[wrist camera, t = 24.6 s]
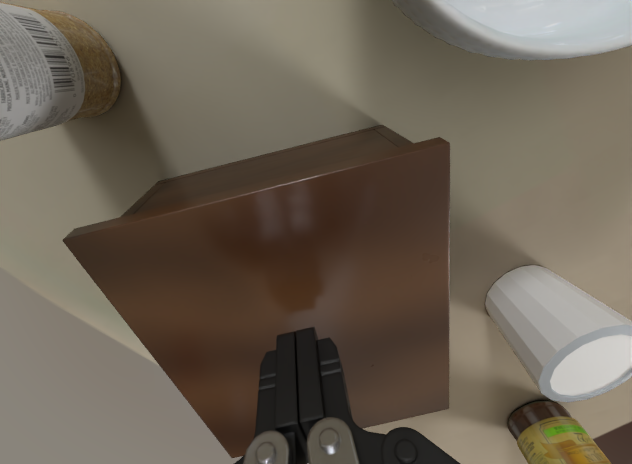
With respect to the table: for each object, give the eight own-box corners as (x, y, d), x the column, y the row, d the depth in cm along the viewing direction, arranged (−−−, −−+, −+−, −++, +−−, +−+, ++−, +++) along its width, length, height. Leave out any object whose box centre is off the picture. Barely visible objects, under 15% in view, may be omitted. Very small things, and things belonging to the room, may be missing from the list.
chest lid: (74, 228, 11) (61, 240, 11) (439, 136, 11) (450, 142, 10) (233, 444, 20) (231, 458, 19) (443, 396, 19) (449, 408, 19)
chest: (157, 181, 18) (97, 236, 12) (382, 124, 18) (431, 153, 12) (244, 356, 26) (233, 443, 20) (405, 318, 25) (443, 395, 19)
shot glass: (559, 312, 27) (642, 386, 20) (479, 335, 27) (537, 414, 21) (566, 246, 23) (667, 311, 17) (475, 273, 24) (542, 346, 18)
